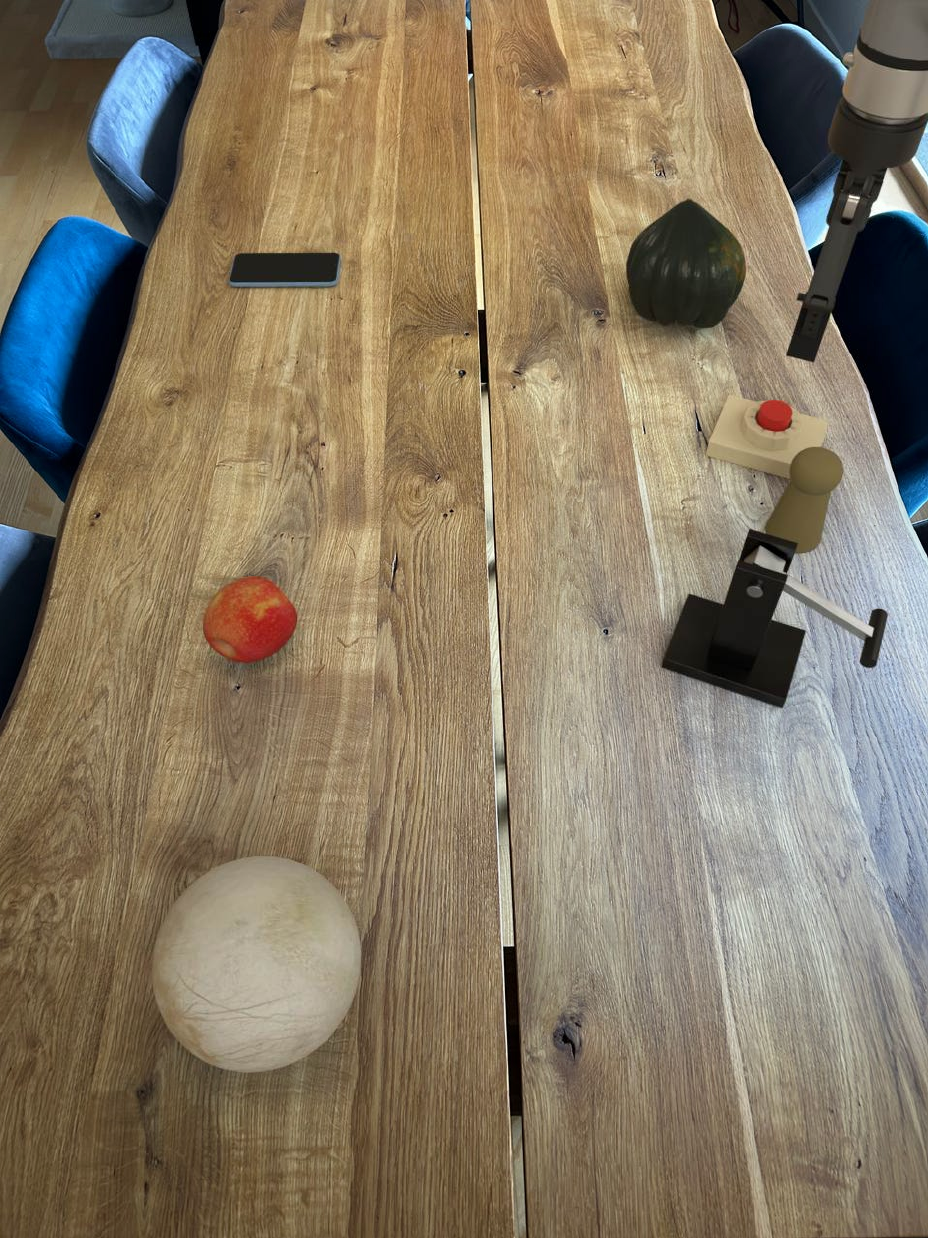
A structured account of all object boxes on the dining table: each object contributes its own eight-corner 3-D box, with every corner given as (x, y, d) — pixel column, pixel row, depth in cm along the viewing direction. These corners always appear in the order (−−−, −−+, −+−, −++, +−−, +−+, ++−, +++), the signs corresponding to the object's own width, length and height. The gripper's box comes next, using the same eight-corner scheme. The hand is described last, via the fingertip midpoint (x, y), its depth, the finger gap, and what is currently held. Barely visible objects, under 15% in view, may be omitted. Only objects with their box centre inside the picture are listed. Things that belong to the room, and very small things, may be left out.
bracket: (802, 639, 102) (846, 540, 90) (782, 708, 97) (825, 613, 85) (686, 602, 104) (713, 501, 93) (660, 667, 99) (686, 570, 88)
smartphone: (234, 251, 142) (341, 251, 142) (235, 257, 142) (341, 256, 142) (226, 282, 137) (337, 281, 137) (227, 288, 138) (337, 287, 138)
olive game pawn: (822, 517, 112) (851, 442, 103) (821, 557, 108) (851, 483, 99) (766, 508, 113) (791, 433, 104) (763, 547, 109) (789, 473, 100)
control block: (824, 435, 120) (834, 408, 117) (808, 484, 115) (818, 458, 112) (725, 408, 123) (731, 381, 120) (705, 455, 118) (711, 429, 115)
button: (791, 416, 116) (795, 404, 115) (784, 435, 114) (788, 423, 113) (760, 407, 117) (764, 396, 116) (753, 427, 115) (756, 415, 114)
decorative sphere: (405, 1016, 79) (394, 948, 67) (233, 1138, 74) (188, 1089, 62) (309, 868, 87) (283, 784, 75) (147, 970, 82) (92, 897, 70)
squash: (709, 333, 123) (754, 207, 119) (596, 301, 128) (637, 179, 124) (727, 350, 136) (769, 237, 132) (625, 320, 141) (662, 210, 137)
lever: (877, 623, 94) (895, 611, 92) (865, 672, 90) (884, 661, 88) (749, 543, 93) (765, 530, 91) (733, 590, 89) (749, 577, 87)
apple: (313, 643, 101) (302, 593, 95) (246, 693, 98) (231, 645, 91) (263, 600, 105) (250, 548, 98) (197, 646, 101) (179, 596, 95)
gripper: (864, 33, 93) (801, 242, 110) (811, 166, 79) (748, 382, 96) (949, 48, 91) (872, 258, 108) (910, 186, 77) (828, 402, 94)
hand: (814, 317), depth 102 cm, fingers open, 13 cm apart
